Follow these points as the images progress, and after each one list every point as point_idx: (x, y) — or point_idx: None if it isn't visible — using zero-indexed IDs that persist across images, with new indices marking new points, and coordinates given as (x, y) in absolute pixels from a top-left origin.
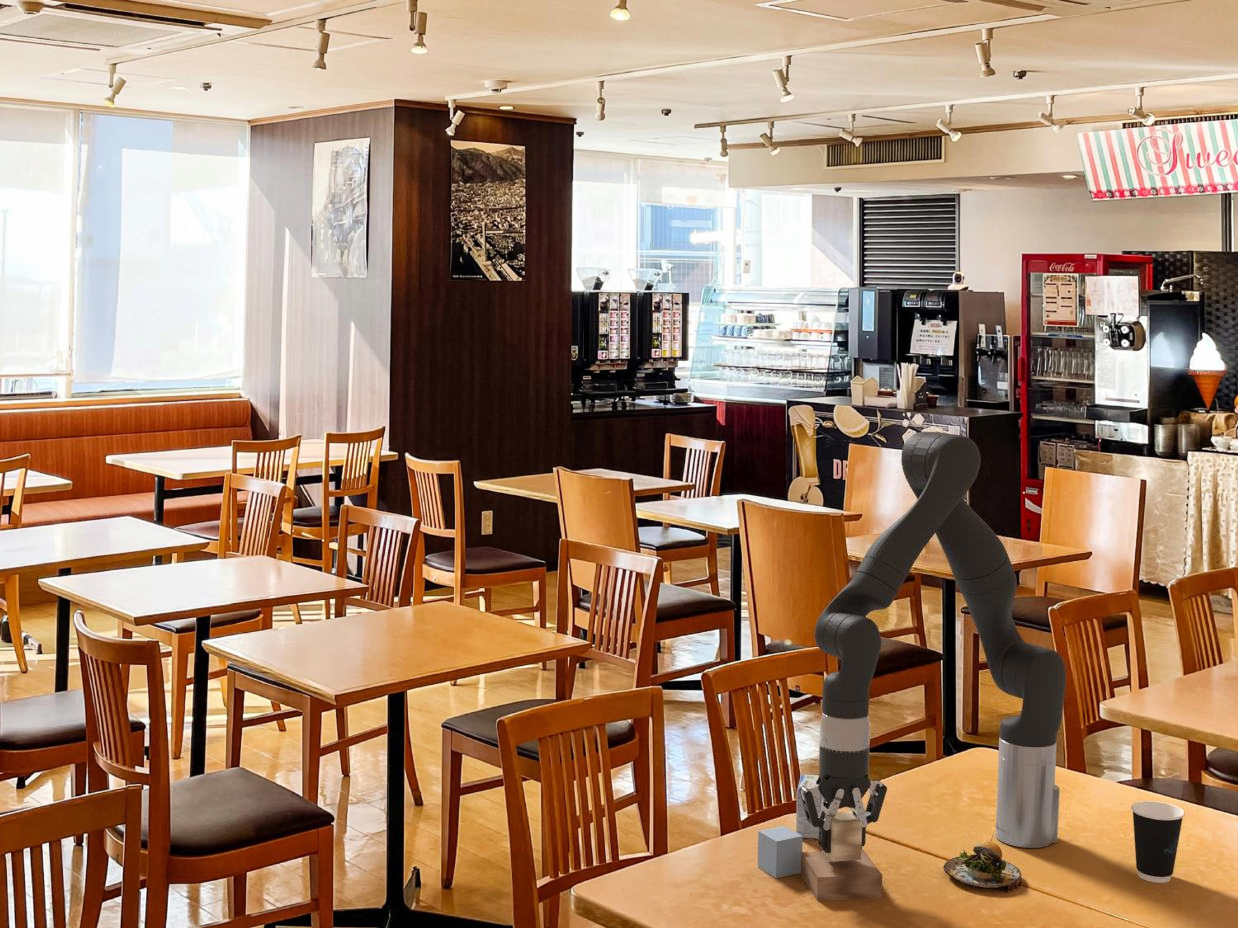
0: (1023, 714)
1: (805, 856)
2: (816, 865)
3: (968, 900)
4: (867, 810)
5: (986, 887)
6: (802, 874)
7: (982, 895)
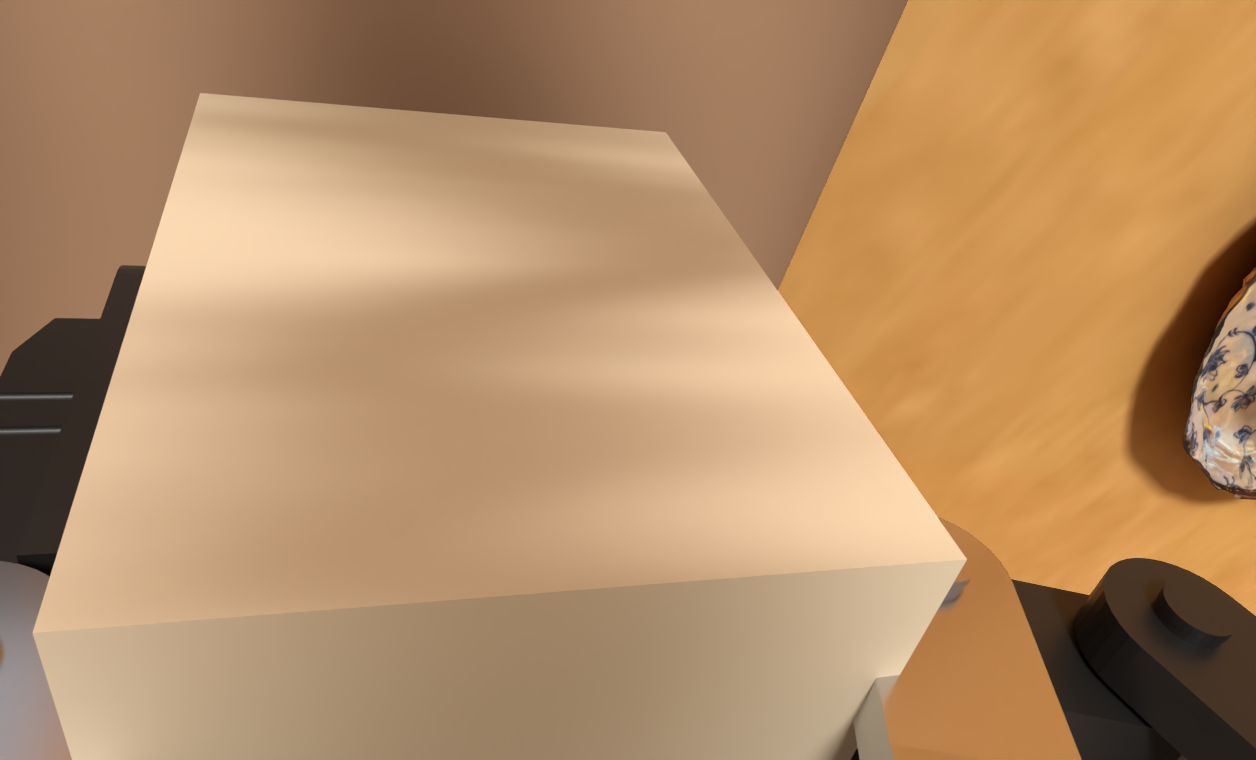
0: None
1: None
2: (49, 238)
3: (1030, 508)
4: (1172, 742)
5: (1229, 431)
6: None
7: (1139, 470)
